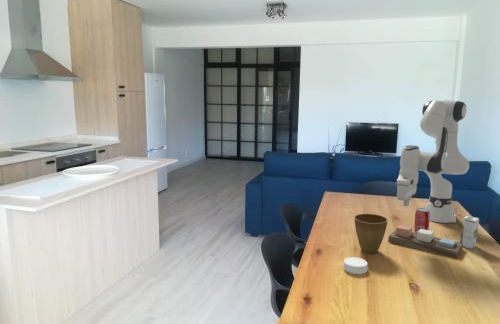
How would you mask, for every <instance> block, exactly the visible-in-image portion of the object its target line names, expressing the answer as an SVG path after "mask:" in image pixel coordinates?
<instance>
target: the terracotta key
mask: <svg viewBox="0 0 500 324" xmlns="http://www.w3.org/2000/svg"><path fill="white" fill-rule="evenodd" d="M395 230H396V235H398V236H402V237H407V238H409V237H410V236H411V235H412V232H413V226H409V225H404V224H398V226H397V227H396V229H395Z"/></svg>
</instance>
